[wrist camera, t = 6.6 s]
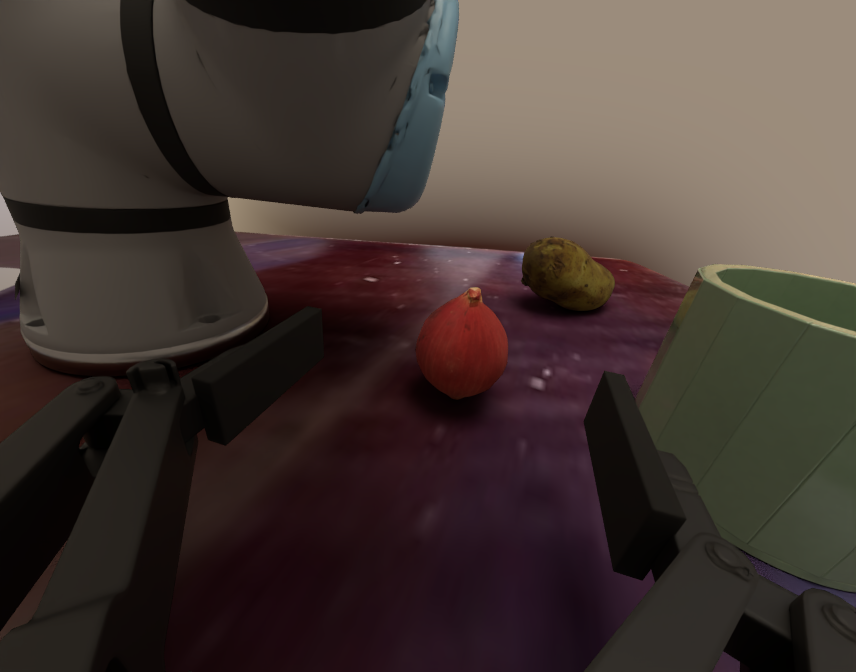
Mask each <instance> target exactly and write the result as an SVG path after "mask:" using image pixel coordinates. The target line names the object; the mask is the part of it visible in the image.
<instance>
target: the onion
mask: <svg viewBox="0 0 856 672" xmlns="http://www.w3.org/2000/svg"><path fill="white" fill-rule="evenodd" d="M415 350H416V358H417V362H418V364H419V367H420V369H421V371H422V373H423V374H424V376H425V378H426V379H427V380H428V381H429V382H430V383H431V384H432V385H433V386H434V387H436V388H437V389H438V390H439V391H441V392H443V393H444V394H446V395H448V396H449V397H450V398H452V399H457V400H458V399H461V398H464V397H470V396H473V395H476V394H479V393H482V392H484V391H486V390H488V389H489V388H490V387H491V386H492V385H493V384H494V383H495V382H496V381H497V380H498V379H499V378H500V376H501V375H502V374H503V372H504V369H505V367H506V365H507V356H508V341H507V335H506V333H505V330H504V328H503V326H502V324H501V323H500V321H499V320H498V318H497V317H496V315H495V314H494V313H493V311H492V310H491V309H489V308H488V307H487V306H486V305H485V304H483V303H482V296H481V290H480V289H479V288H477V287H476V288H469V290H468V291H467V292H465V293H463V294H461V295H460V296H459V297H457V298H455V299H452V300H451V301H449V302H447V303H446V304H444V305H443V306H441V307H440V308H438V309H437V310H435V311H434V312H433V313H432V314H431V315H430V316H429V317H428V318H427V319H426V321H425V322H424V324H423V327H422V329H421V331H420V334H419V337H418V339H417V344H416V349H415Z"/></svg>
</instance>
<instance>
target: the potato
mask: <svg viewBox="0 0 856 672" xmlns="http://www.w3.org/2000/svg"><path fill="white" fill-rule="evenodd" d="M522 273H523V278H522V280H521V282H522V283H523V284H524V285H525V286H529V287H530V288H531V290H532V291H533V292H534V293H535V294H537V295H538V296H540V297H542V298H545V299H548V300H551V301H553V302H555V303H556V304H558V305H559V306H561V307H563V308H566V309H569V310H575V311H588V310H593V309H596V308H598V307H600V306H602V305H603V304H604V303H606V302H607V300H608V299H609V298H610V296H611V294H612V291H613V289H614V285H615V281H614V278H613V275H612V274H611V273H610V272H609V271H608V270H607V269H606V268H605V267H604V266H602V265H601V264H599V263H597V262H595V261H593V260H592V258H591V257H590V256H589V255H588V254H587V252H586V251H585V250H584V249H583V248H582V247H581V246H579V245H578V244H576V243H574V242H573V241H569V240H566V239H561V238H554V237H550V238H545V239H542V240H537V241H536V242H534V243H531V244H530V246H529V247H528V248H527V250H526V251H525V252H524V256H523V264H522Z"/></svg>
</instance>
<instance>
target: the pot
mask: <svg viewBox="0 0 856 672" xmlns="http://www.w3.org/2000/svg"><path fill="white" fill-rule="evenodd" d="M635 401H636V404H637V406H638V408H639V410H640V413H641V415H642V417H643V420H644V422H645V424H646V427H647V429H648V431H649V433H650V436H651V438H652V440H653V443H654V445H655V447H656V449H657V450H660V451H664V452H668V453H672V454H674V455H675V456H676V458H677V459H678V460H679V461H680V462H681V463H682V464H683V465H684V466H685V467H686V469H687V471H688V473H689V475H690V476H691V478H692V480H693V484H695V486H696V488H697V490H698V492H699V493H698V495H700V496H701V498H702V500H703V502H704V504H705V506H706V508H707V510H708V512H709V514H710V516H711V518H712V520H713V522H714V524H715V526H716V528H717V530H718V531H719V533H720V535H721V537H722V538H724V539H725V540H727V541H728V542H730V543H732V544H733V545H735V546H736V547H738V548H740V549H741V550H743V551H745V552H747V553H748V554H750V555H752V556H754V557H756V558H758V559H760V560H762V561H764V562H766V563H768V564H770V565H772V566H774V567H776V568H778V569H780V570H783V571H785V572H787V573H790V574H792V575H794V576H797V577H799V578H802V579H805V580H808V581H811V582H814V583H817V584H819V585H822V586H826V587H830V588H834V589H838V590H842V591H848V592H855V593H856V284H855V283H850V282H844V281H840V280H835V279H830V278H824V277H819V276H812V275H807V274H802V273H796V272H791V271H785V270H777V269H769V268H762V267H754V266H745V265H719V264H713V265H709V266H706V267H703V268H699V269H698V271H697V273H696V275H695V277H694V279H693V281H692V283H691V285H690V287H689V289H688V291H687V293H686V295H685V297H684V299H683V302H682V304H681V306H680V308H679V310H678V312H677V314H676V316H675V318H674V320H673V322H672V324H671V326H670V328H669V330H668V332H667V334H666V337H665V339H664V341H663V343H662V345H661V347H660V349H659V351H658V353H657V355H656V357H655V359H654V361H653V363H652V365H651V367H650V369H649V371H648V374H647V376H646V378H645V380H644V382H643V384H642V386H641V388H640V390H639V392H638V394H637V396H636V398H635Z"/></svg>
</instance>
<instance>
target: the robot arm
mask: <svg viewBox="0 0 856 672" xmlns="http://www.w3.org/2000/svg"><path fill="white" fill-rule="evenodd" d="M458 21H459V3H458V0H0V192H1V194H2V196H3V198H4V200H5V202H6V204H7V207H8V209H9V211H10V213H11V216H12V218H13V220H14V223H15V225H16V228H17V230H18V232H19V237H20V274H19V276H18V279H17V281H16V283H15V300H16V297H17V295H18V292H19V290H20V326H21V333H22V336H23V338H24V340H25V342H26V344H27V345H28V347H29V349H30V351H31V353H32V355H33V357H34V358H35V359H36V360H37V361H38V362H39V363H40V364H42V365H44V366H46V367H48V368H50V369H53V370H56V371H59V372H64V373H69V374H76V375H86V376H99V377H90V378H86V379H83V380H81V381H79V382H76V383H74V384H72V385H70V386H69V387H67V388H66V389H65V390H63V391H62V392H61V393H60V394H59V395H58V396H56V397H55V398H54V399H53V400H52V401H50V402H49V403H48V404H47V405H46V406H44V407H43V408H42V409H41V410H40V411H38V412H37V413H36V414H35V415H34V416H32V417H31V418H30V419H29V420H28V421H26V422H25V423H24V424H23V425H22V426H20V427H19V428H18V429H17V430H16V431H14V432H13V433H12V434H11V435H10V436H8V437H7V438H6V439H5V440H4V441H3V442H1V443H0V631H1V630H2V628H3V627H4V625H5V624H6V623H7V621H8V620H9V619H10V617H11V616H12V614H13V613H14V612H15V610H16V609H17V608H18V606H19V605H20V604H21V602H22V601H23V599H24V598H25V597H26V595H27V594H28V593H29V591H30V590H31V588H32V587H33V586H34V584H35V583H36V582H37V580H38V579H39V578H40V576H41V575H42V573H43V572H44V571H45V569H46V568H47V567H48V565H49V564H50V563H51V561H52V560H53V558H54V557H55V556H56V554H57V553H58V552H59V550H60V549H61V547H62V546H63V545H64V543H65V542H66V541H67V539H68V538H69V539H68V541H67V543H66V545H65V548H64V550H63V552H62V554H61V557H60V559H59V561H58V563H57V566H56V568H55V570H54V572H53V575H52V577H51V579H50V581H49V584H48V586H47V588H46V590H45V593H44V595H43V597H42V599H41V601H40V604H39V606H38V608H37V610H36V612H35V614H34V616H33V617H32V619H31V620H30V621H29V622H28V623H27V624H25V625H22V626H19V627H16V628H14V629H12V630H11V631H10V632H9V633H8V634H7V635H6V636H4V637H3V639H2V640H1V642H0V672H166V671H165V662H164V647H165V640H166V634H167V627H168V621H169V615H170V609H171V603H172V597H173V591H174V585H175V579H176V573H177V567H178V561H179V555H180V549H181V542H182V536H183V530H184V524H185V518H186V512H187V506H188V500H189V494H190V488H191V482H192V476H193V470H194V464H195V457H196V451H197V445H198V438H197V435H196V434H197V433H198V432H200V431H201V430H202V429H203V428H205V430H206V434H207V438H208V440H210V441H213V442H216V443H219V444H222V445H225V446H226V445H227V444H228V443H229V442H230V441H231V440H233V439H234V438H235V437H236V436H237V435H238V434H239V433H240V432H241V431H243V430H244V429H245V428H246V427H247V426H248V425H249V424H250V423H251V422H253V421H254V420H255V419H256V418H257V417H258V416H259V415H260V414H261V413H262V412H264V411H265V410H266V409H267V408H268V407H269V406H270V405H271V404H272V403H274V402H275V401H276V400H277V399H278V398H279V397H280V396H281V395H282V394H284V393H285V392H286V391H287V390H288V389H289V388H290V387H291V386H292V385H294V384H295V383H296V382H297V381H298V380H299V379H300V378H301V377H302V376H303V375H305V374H306V373H307V372H308V371H309V370H310V369H311V368H312V367H313V366H315V365H316V364H317V363H318V362H319V361H320V360H321V359H322V358H323V357H324V348H323V328H322V309H318V308H313V307H309V306H307V307H306V308H304V309H302V310H301V311H299V312H297V313H296V314H294V315H293V316H291V317H289V318H288V319H286V320H284V321H283V322H281V323H280V324H278V325H276V326H275V327H273V328H271V329H270V330H268V331H266V332H265V333H263V334H262V335H260V336H258V337H257V338H255V339H253V338H254V337H256V336H257V335H258V334H259V333H260V332H261V331H262V330H263V329H264V328H265V326H266V325H267V323H268V321H269V307H268V300H267V295H266V293H265V291H264V288H263V286H262V284H261V282H260V280H259V279H258V277H257V275H256V273H255V271H254V269H253V267H252V265H251V263H250V261H249V259H248V257H247V255H246V253H245V252H244V250H243V248H242V246H241V244H240V242H239V240H238V238H237V236H236V234H235V232H234V230H233V227H232V222H231V217H230V210H229V204H228V199H227V198H228V197H231V198H243V199H251V200H260V201H269V202H278V203H285V204H294V205H302V206H311V207H319V208H328V209H337V210H344V211H353V212H354V213H357V214H358V213H360V214H361V213H363V212H364V211H372V212H392V213H398V212H402V211H405V210H407V209H409V208H411V207H413V206H414V205H415V204H416V203H417V202H418V201H419V199H420V197H421V195H422V193H423V191H424V189H425V186H426V183H427V179H428V176H429V172H430V169H431V165H432V161H433V157H434V153H435V149H436V145H437V140H438V136H439V132H440V127H441V122H442V117H443V112H444V107H445V92H446V90H447V87H448V82H449V75H450V72H451V68H452V64H453V58H454V52H455V45H456V38H457V31H458ZM251 339H253V340H252V341H250V340H251ZM248 341H250V342H249V343H247V342H248ZM245 343H247V344H245ZM243 344H245V345H244V346H242V345H243ZM214 357H217V358H214ZM212 358H213V359H212ZM208 359H212V360H210V361H209V362H208V363H205V364H203V365H202V366H200V367H198V368H197V369H195V370H193V371H192V372H190V373H188V374H187V375H185V376H183V377H182V378H180V377H179V374H178V370H177V368H180V367H184V366H188V365H192V364H195V363H199V362H202V361H205V360H208ZM126 375H127V377H128V379H129V382H130V385H131V387H132V389H119V388H118V385H117V383H116V380H115V379H114V378H112V377H108V376H126ZM584 426H585V431H586V436H587V441H588V446H589V451H590V456H591V461H592V466H593V471H594V476H595V481H596V486H597V491H598V496H599V501H600V506H601V511H602V516H603V521H604V527H605V532H606V537H607V542H608V547H609V552H610V557H611V562H612V567H613V571H614V572H617V573H620V574H623V575H626V576H630V577H633V578H636V579H639V580H643V579H644V578H645V576H646V575H647V574H648V572H649V571H650V569H651V570H652V573H653V577H654V580H655V584H654V585H653V586H652V588H651V589H650V590H649V591H648V593H647V594H646V595H645V596H644V598H643V599H642V600H641V601H640V603H639V604H638V605H637V606H636V607H635V609H634V610H633V611H632V612H631V614H630V615H629V616H628V617H627V619H626V620H625V621H624V622H623V624H622V625H621V626H620V627H619V629H618V630H617V631H616V632H615V634H614V635H613V636H612V637H611V638H610V640H609V641H608V642H607V643H606V645H605V646H604V647H603V648H602V650H601V651H600V652H599V653H598V655H597V656H596V657H595V658H594V660H593V661H592V662H591V663H590V665H589V666H588V667H587V668H586V669H585V671H584V672H712V671H713V669H714V667H715V665H716V664H717V662H718V660H719V658H720V656H721V654H722V652H723V651H724V652H726V653H727V654H729V655H730V656H732V657H733V658H735V659H737V660H738V661H740V672H856V608H855V607H853V606H852V605H850V604H849V603H847V602H846V601H844V600H843V599H841V598H840V597H838V596H836V595H833V594H831V593H829V592H827V591H825V590H820V589H815V588H811V589H808V590H805V591H804V592H803V593H802V594H801V595H799V596H798V595H796V594H794V593H792V592H790V591H788V590H786V589H785V588H783V587H781V586H779V585H777V584H775V583H773V582H771V581H770V580H768V579H766V578H764V577H762V576H761V575H759V574H757V572H756V569H755V567H754V565H753V564H752V563H751V561H750V560H749V559H748V558H747V556H746V555H745V554H744V553H743V552H741V551H740V550H739V549H738V548H737V547H736V546H735V545H733V544H732V543H730V542H728V541H727V540H725V539H724V538H722V537H721V535H720V533H719V531H718V530H717V528H716V526H715V524H714V522H713V520H712V518H711V516H710V514H709V512H708V510H707V508H706V506H705V504H704V502H703V500H702V498H701V496H700V495H698V493H699V492H698V490H697V488H696V486H695V484H693V480H692V478H691V476H690V475H689V473H688V471H687V469H686V467H685V466H684V465H683V464H682V463H681V462H680V461H679V460H678V459H677V458H676V456H675V455H674V454H672V453H668V452H664V451H660V450H657V449H656V447H655V445H654V443H653V440H652V438H651V436H650V433H649V431H648V429H647V427H646V424H645V422H644V420H643V417H642V415H641V413H640V410H639V408H638V406H637V404H636V401H635V399H634V397H633V394H632V392H631V390H630V388H629V385H628V383H627V381H626V378H625V376H624V375H621V374H616V373H612V372H607V371H604V373H603V376H602V378H601V380H600V383H599V385H598V388H597V390H596V393H595V395H594V397H593V400H592V402H591V405H590V407H589V410H588V412H587V414H586V417H585V419H584ZM82 437H83V438H84V440H85V443H84V444H83V445H82V446H81V447H80V448H79V444H80V440H81V439H82ZM188 672H191V671H188Z"/></svg>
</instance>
